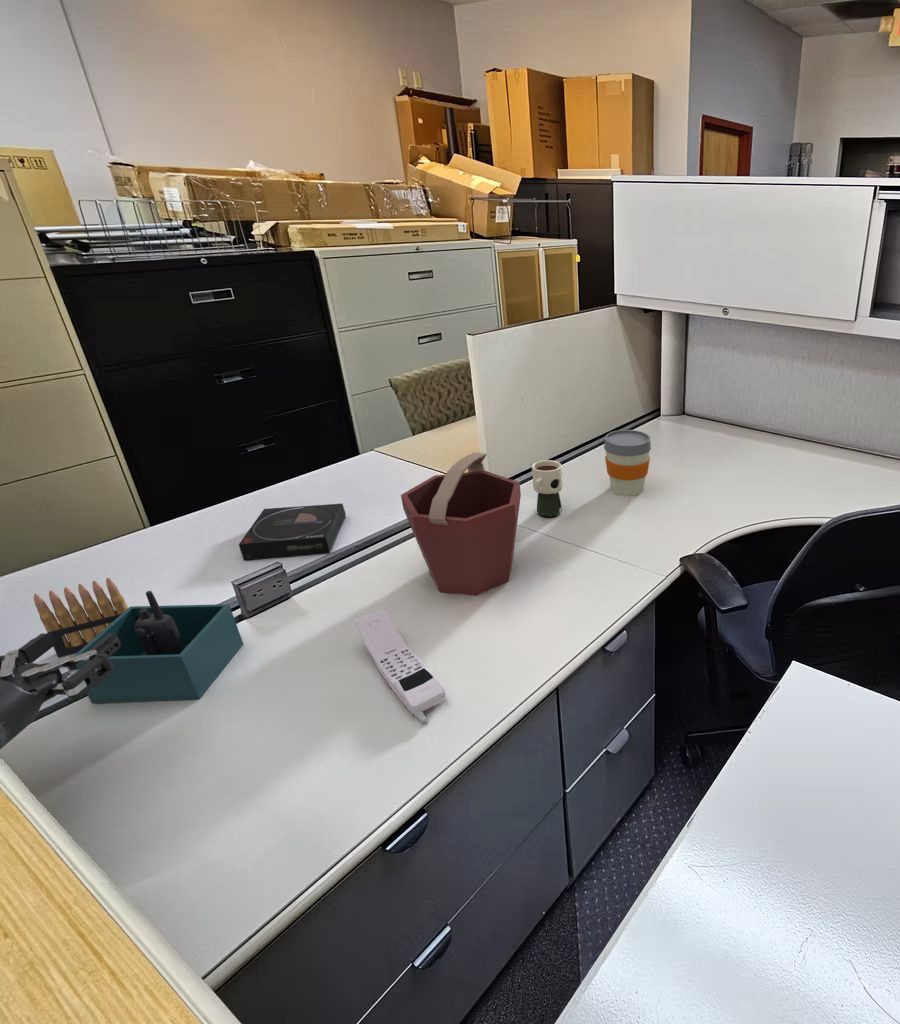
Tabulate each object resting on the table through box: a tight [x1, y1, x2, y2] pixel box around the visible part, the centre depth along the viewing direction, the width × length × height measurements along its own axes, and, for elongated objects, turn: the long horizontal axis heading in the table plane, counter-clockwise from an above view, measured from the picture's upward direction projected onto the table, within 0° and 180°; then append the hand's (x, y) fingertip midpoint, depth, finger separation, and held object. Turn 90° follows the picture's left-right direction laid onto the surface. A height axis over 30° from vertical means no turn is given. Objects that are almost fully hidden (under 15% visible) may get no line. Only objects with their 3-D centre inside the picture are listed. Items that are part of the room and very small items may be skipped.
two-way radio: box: [134, 590, 185, 655], centre depth 97 cm, size 6×4×15 cm
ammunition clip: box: [33, 577, 129, 658], centre depth 103 cm, size 11×2×12 cm, turn 126°
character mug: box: [531, 459, 564, 517], centre depth 152 cm, size 11×7×13 cm, turn 163°
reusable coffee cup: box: [603, 429, 652, 497], centre depth 167 cm, size 13×13×15 cm
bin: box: [71, 603, 244, 705], centre depth 99 cm, size 15×13×9 cm
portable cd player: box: [238, 503, 347, 562], centre depth 139 cm, size 16×17×4 cm
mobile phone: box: [352, 607, 447, 724], centre depth 101 cm, size 6×6×25 cm
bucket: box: [400, 451, 522, 596], centre depth 124 cm, size 24×22×25 cm
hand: (82, 638), depth 84 cm, fingers open, 8 cm apart
